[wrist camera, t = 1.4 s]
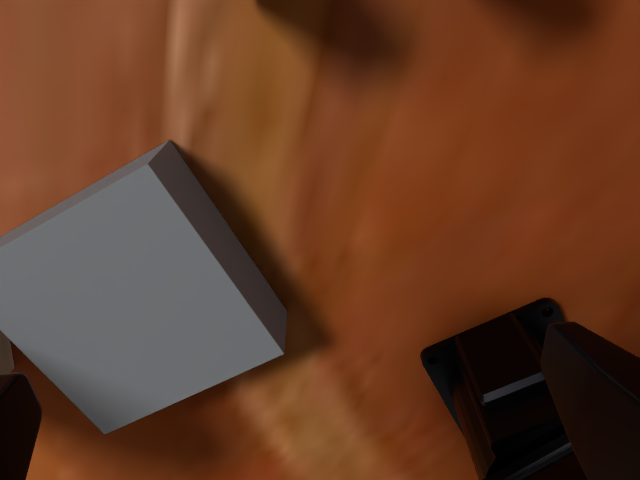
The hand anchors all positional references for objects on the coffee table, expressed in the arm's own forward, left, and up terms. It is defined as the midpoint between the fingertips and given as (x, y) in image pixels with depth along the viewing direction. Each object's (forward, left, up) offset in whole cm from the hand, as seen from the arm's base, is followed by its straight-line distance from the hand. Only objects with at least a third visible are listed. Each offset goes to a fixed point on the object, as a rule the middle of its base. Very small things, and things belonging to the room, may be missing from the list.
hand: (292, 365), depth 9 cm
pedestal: (-2, +9, -13) cm, 15 cm away
